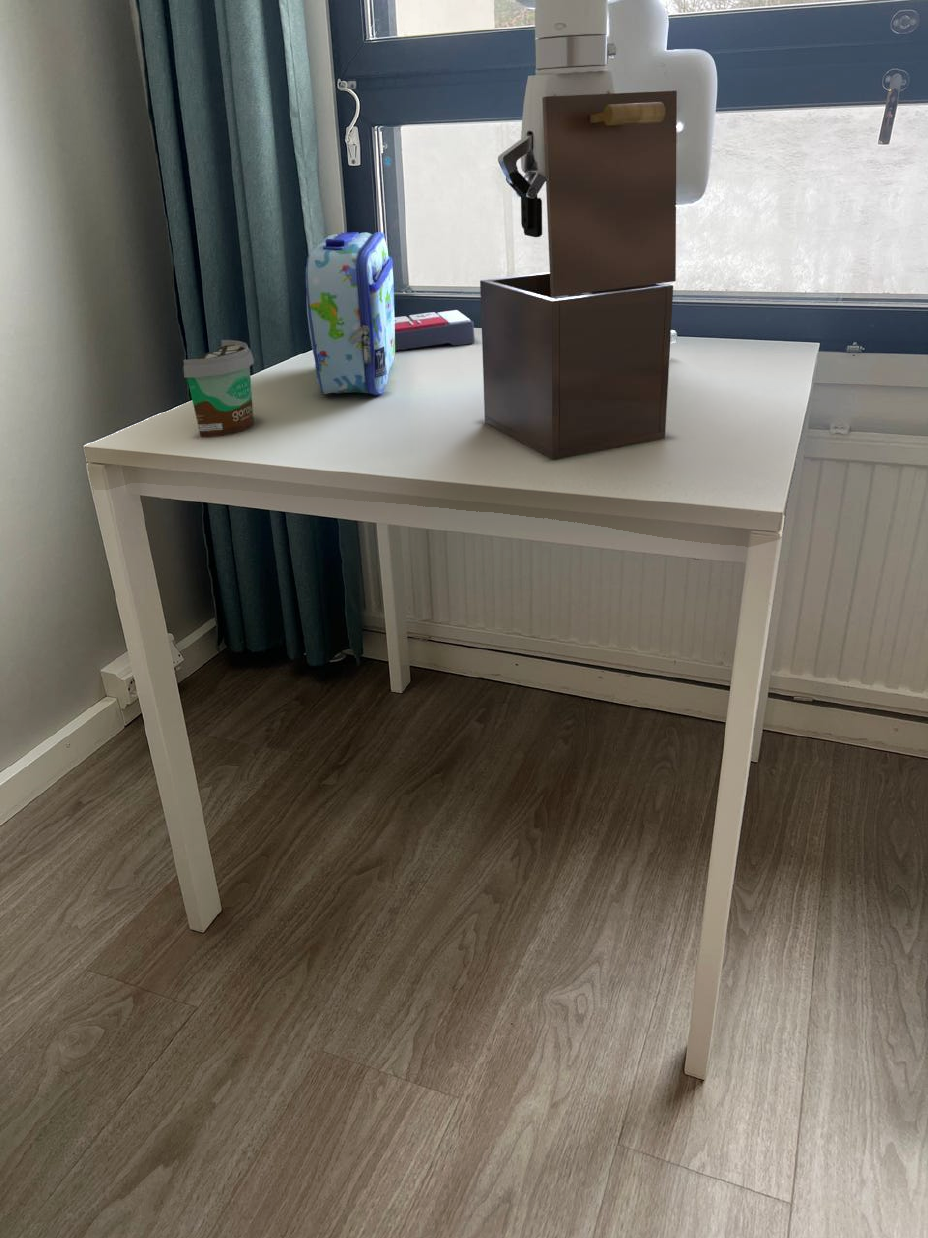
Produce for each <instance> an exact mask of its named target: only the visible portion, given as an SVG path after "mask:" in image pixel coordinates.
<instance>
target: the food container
mask: <svg viewBox="0 0 928 1238" xmlns="http://www.w3.org/2000/svg"><path fill="white" fill-rule="evenodd" d="M254 364H255V359H254V356H253V353H252V350H251V349H250V348H249V346H248V344H247V343H246V342H244V341H240V340H233V339H221V347H220V348H219V349H217V350H214V351H210V352H206V353H204V354H202V356H200V357H199V358H193V359H183V365H182V366H183V377H184V378H186V379H187V383H188V388H189V391H190V392H189V393H190V396H191V401H192V405H193V409H194V414H195V417H196V422H197V427H198V432H199V436H200V437H202V438H207V437H208V438H209V437H221V436H227V435H232V434H236V433H240V432H243V431H245V430H248V429H250V428H251V427H253V426H254V423H255V421H254V409H253V394H252V393H253V392H252V381H251V380H252V379H251V368H250V367H251V366H252V365H254Z"/></svg>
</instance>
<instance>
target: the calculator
mask: <svg viewBox="0 0 928 1238" xmlns="http://www.w3.org/2000/svg"><path fill="white" fill-rule="evenodd" d="M394 318H395V352H397V351H404V350H410V349H416V348H424V347H431V346H438V345H444V344H445V345H446V344H450V345H452V346H462V345H468V344H474V343H476V338H475V327H474V321H473V320H471V319H470V318H469V317H467V316H466V315H465V314H463V312H461V311H459V310H458V309H453V310H452V309H451V310H445V311H440V312H439V311H438V312H437V313H436V312H435V311H431V312H424V313H416V314H410V315H408V317H407V316H406V315H403V316H396V317H395V316H394Z"/></svg>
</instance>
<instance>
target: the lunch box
mask: <svg viewBox="0 0 928 1238" xmlns="http://www.w3.org/2000/svg"><path fill="white" fill-rule="evenodd" d="M306 258H307V259H306V268H305V287H306V289H305V290H306V315H307V323H308V331H309V338H310V343H311V349H312V354H313V357H314V358H313V359H314V365H315V379H316V384H317V387H318V388H319V389H320V392H321V393H322V394H323V395H324V394H325V395H327V394H332V393H333V394H351V393H352V394H353V393H355V394H356V393H358V394H371V395H374V396H379V395H382V394H383V393H384V392H385V387H386V385H387V383H388V379H389V373H390V369H391V367H392V365H393V362H394V358H395V355H396V351H395V289H394V286H395V285H394V269H393V265H394V261H393V258H392V257H391V256H390V255H389V250H388V246H387V242H386V236H385V233H384V232H382V231H379V232H377V231H375V232H374V233H370V232H360V233H359V231H355V232H354V231H353V232H340V233H338V234H336V233H335V234H330V235H328V236H327V237H326V238H325V239H324V240H322V241H321V242H320V243H319V244H318V245H317V246H316V247H314V249H313V250H312V251H311V252H310V253H309V254H308V255H307V257H306Z"/></svg>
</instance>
